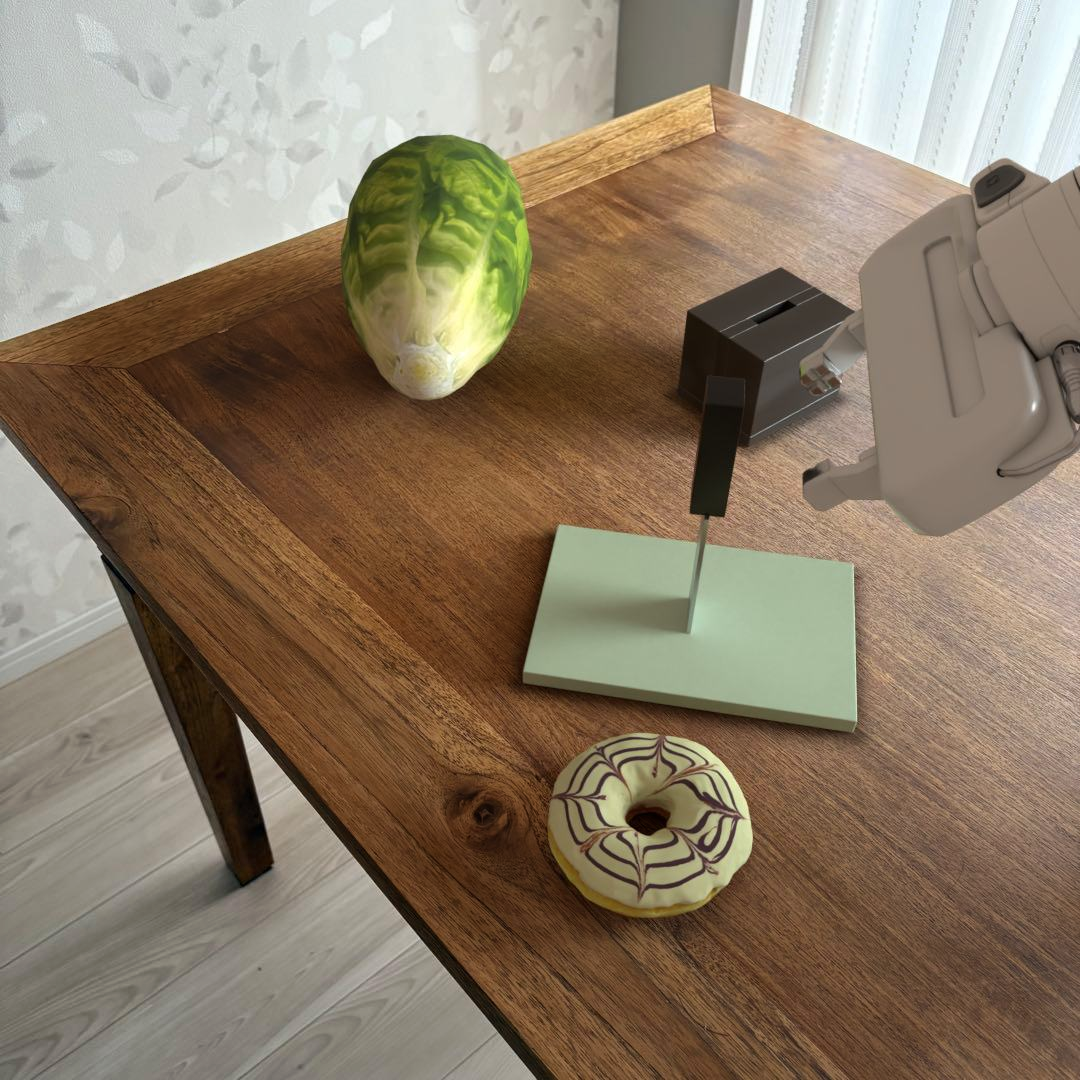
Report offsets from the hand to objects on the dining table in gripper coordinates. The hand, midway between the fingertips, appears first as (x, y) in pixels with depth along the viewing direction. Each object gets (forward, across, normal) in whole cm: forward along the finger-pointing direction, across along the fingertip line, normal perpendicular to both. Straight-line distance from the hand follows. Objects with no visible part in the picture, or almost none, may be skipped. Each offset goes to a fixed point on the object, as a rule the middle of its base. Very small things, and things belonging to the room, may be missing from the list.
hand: (806, 434), depth 59 cm
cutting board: (+15, +1, -9) cm, 18 cm away
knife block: (+12, +25, -12) cm, 30 cm away
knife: (+14, 0, -8) cm, 17 cm away
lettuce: (+31, +27, +7) cm, 42 cm away
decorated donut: (+16, -15, -8) cm, 24 cm away
